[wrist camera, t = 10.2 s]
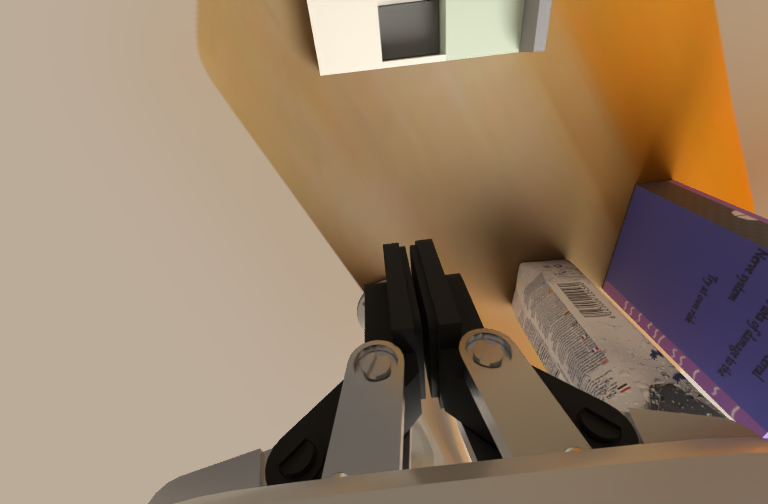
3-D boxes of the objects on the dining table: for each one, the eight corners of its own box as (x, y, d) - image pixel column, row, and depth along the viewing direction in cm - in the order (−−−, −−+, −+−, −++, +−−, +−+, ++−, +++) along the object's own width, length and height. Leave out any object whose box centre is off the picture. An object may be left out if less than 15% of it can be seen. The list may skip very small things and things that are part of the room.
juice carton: (504, 310, 52) (613, 511, 30) (514, 256, 47) (658, 453, 24) (558, 305, 52) (708, 502, 30) (574, 251, 47) (775, 442, 24)
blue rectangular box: (631, 284, 51) (809, 439, 31) (601, 288, 51) (759, 445, 31) (672, 179, 42) (965, 302, 21) (635, 184, 42) (893, 311, 21)
